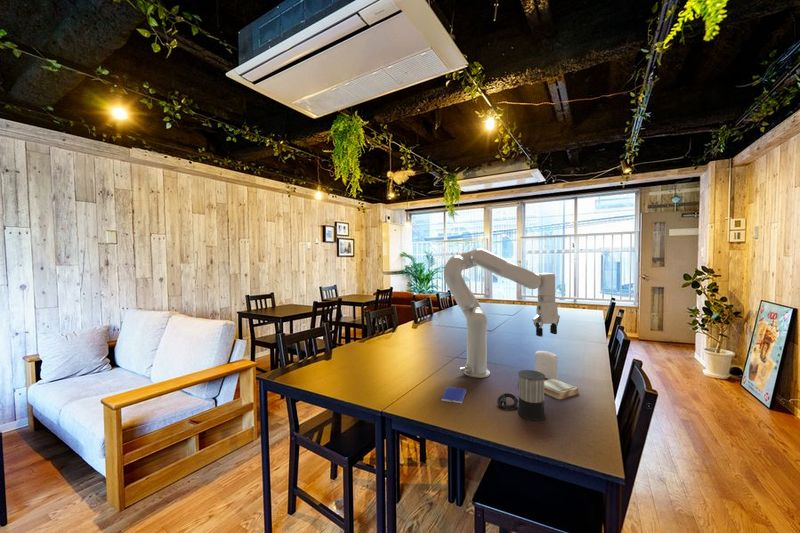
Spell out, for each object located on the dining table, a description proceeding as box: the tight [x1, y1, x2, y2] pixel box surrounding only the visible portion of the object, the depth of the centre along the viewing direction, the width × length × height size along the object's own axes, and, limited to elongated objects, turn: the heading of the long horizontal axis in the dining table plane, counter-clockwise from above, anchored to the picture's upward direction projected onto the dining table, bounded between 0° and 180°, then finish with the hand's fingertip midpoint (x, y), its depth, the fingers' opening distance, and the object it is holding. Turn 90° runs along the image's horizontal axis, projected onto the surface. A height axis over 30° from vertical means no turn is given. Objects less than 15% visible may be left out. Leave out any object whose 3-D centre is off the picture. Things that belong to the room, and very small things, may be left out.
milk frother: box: [496, 369, 546, 421], centre depth 118 cm, size 14×16×15 cm
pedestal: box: [544, 378, 579, 400], centre depth 135 cm, size 12×12×3 cm
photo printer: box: [534, 350, 559, 380], centre depth 151 cm, size 10×4×12 cm, turn 39°
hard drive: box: [441, 386, 467, 404], centre depth 132 cm, size 2×8×12 cm
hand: (546, 334), depth 151 cm, fingers open, 9 cm apart
